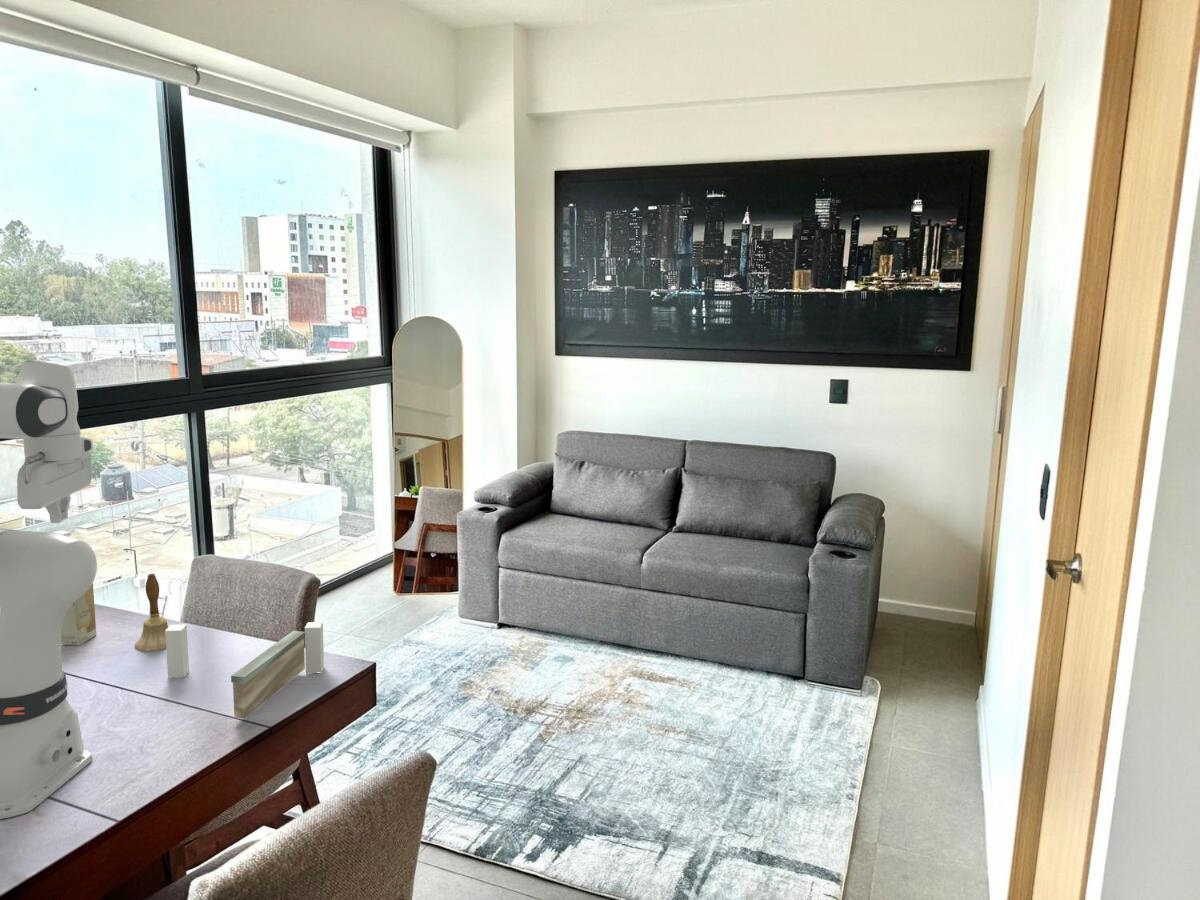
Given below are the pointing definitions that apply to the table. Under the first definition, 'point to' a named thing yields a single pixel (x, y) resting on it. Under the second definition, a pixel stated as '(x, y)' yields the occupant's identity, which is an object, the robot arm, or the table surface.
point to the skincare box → (79, 620)
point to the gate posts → (180, 661)
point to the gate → (267, 673)
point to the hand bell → (153, 621)
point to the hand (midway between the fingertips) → (59, 521)
